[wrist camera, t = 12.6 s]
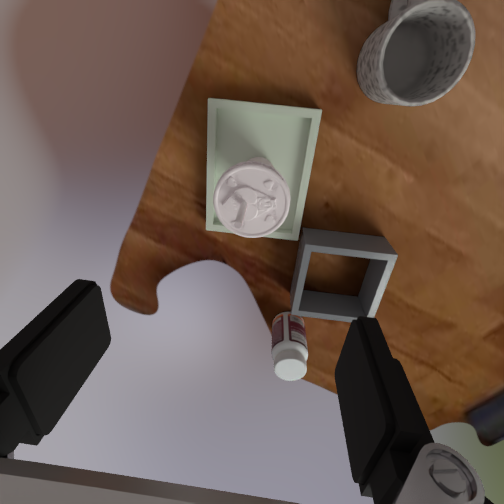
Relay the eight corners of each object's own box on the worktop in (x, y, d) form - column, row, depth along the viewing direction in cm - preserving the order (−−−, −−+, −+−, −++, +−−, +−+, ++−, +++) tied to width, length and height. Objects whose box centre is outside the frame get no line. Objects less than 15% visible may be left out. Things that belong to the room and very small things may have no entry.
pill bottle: (276, 337, 45) (275, 385, 37) (268, 313, 43) (266, 359, 35) (307, 332, 44) (313, 381, 36) (301, 308, 42) (305, 354, 34)
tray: (211, 97, 30) (207, 98, 28) (319, 108, 29) (322, 110, 28) (209, 224, 36) (206, 229, 35) (296, 234, 36) (297, 240, 34)
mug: (428, 96, 28) (467, 96, 22) (356, 109, 29) (376, 113, 23) (440, -43, 23) (493, -88, 18) (355, -21, 25) (378, -56, 19)
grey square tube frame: (302, 227, 36) (305, 244, 32) (384, 237, 35) (398, 255, 31) (289, 293, 40) (291, 314, 36) (362, 301, 40) (371, 324, 36)
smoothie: (226, 145, 31) (192, 180, 19) (287, 141, 30) (293, 175, 18) (232, 202, 34) (206, 265, 22) (287, 200, 33) (293, 264, 21)
